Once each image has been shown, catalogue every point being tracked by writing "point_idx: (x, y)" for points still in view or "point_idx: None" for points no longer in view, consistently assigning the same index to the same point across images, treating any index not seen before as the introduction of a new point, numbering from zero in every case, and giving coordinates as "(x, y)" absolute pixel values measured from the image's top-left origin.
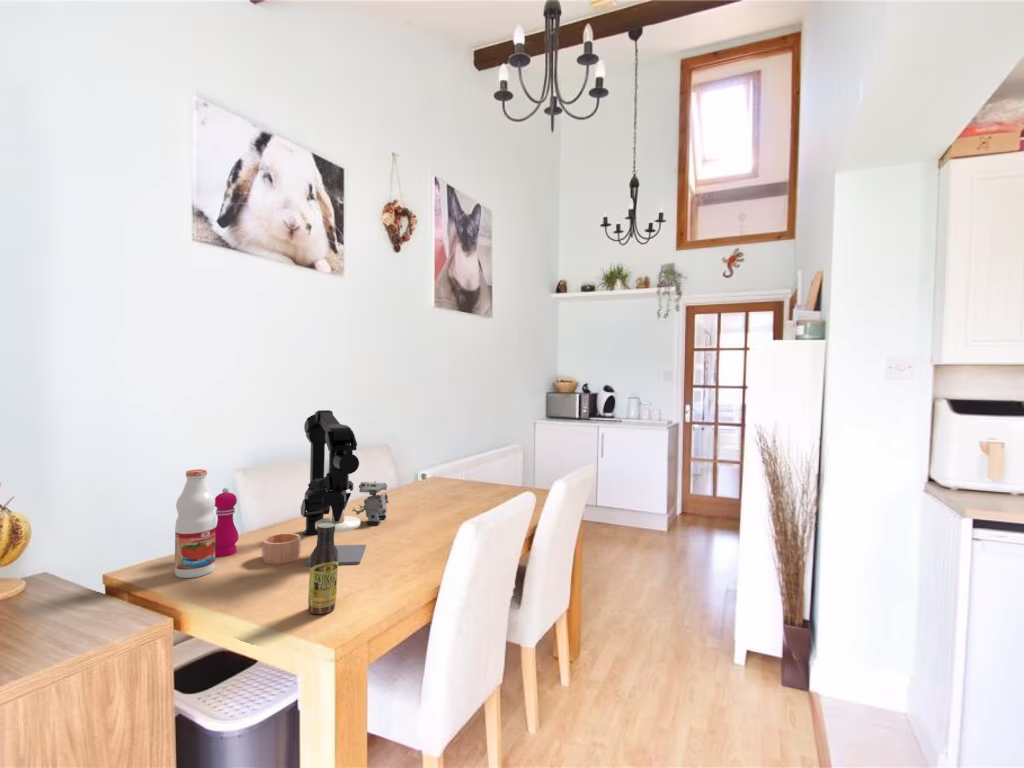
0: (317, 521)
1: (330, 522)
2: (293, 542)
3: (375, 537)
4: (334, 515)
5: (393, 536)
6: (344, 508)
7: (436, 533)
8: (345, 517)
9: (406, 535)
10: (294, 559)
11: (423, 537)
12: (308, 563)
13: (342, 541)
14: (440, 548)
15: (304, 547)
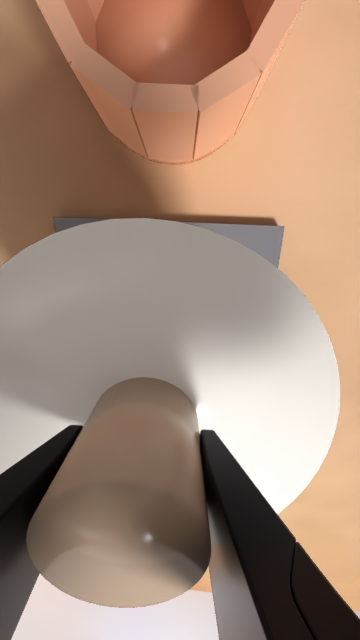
0: (181, 232)
1: (129, 367)
2: (90, 83)
3: (356, 435)
4: (4, 483)
5: (346, 486)
6: (215, 603)
7: (333, 584)
8: (277, 461)
9: (342, 519)
10: (130, 147)
11: None
12: (55, 230)
13: (347, 324)
14: (194, 585)
15: (312, 159)
